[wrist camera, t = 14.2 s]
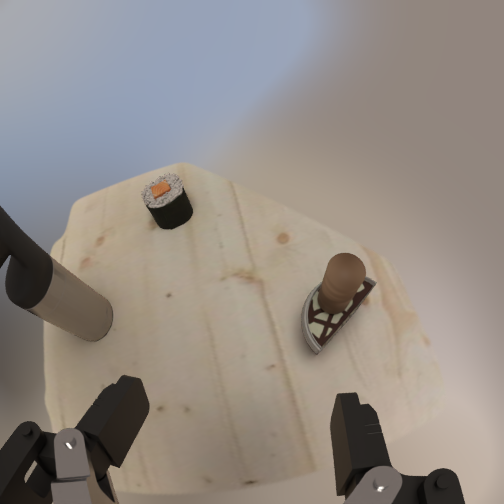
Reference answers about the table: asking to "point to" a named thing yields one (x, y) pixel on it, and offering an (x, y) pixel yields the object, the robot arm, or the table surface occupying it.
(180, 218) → the sushi
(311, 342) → the food container
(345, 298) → the walnut cylinder
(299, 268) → the table surface
